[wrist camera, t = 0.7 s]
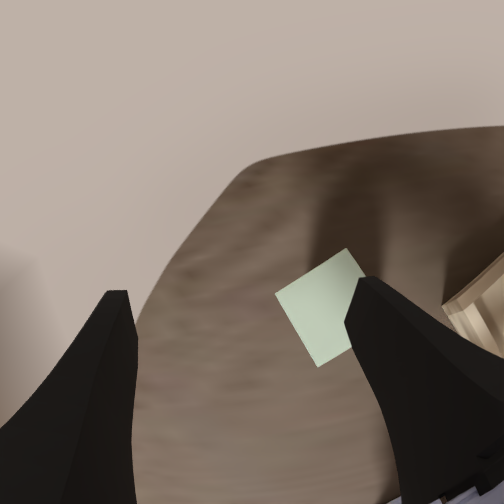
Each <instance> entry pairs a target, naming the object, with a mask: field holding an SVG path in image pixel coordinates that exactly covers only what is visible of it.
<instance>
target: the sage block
mask: <svg viewBox="0 0 504 504" xmlns="http://www.w3.org/2000/svg"><path fill="white" fill-rule="evenodd" d="M359 277H366V276H365V275H364V273H363V272H362V270H361V269H360V267H359V266H358V264H357V263H356V261H355V260H354V258H353V257H352V255H351V254H350V252H349V251H348V250H347V248H345V249H344V250H342V251H341V252H339V253H338V254H336V255H335V256H333V257H332V258H330V259H328V260H327V261H325V262H324V263H322V264H321V265H319V266H318V267H316V268H315V269H313V270H311V271H310V272H308V273H307V274H305V275H304V276H302V277H301V278H299V279H297V280H296V281H294V282H293V283H291V284H289V285H288V286H286V287H285V288H283V289H282V290H280V291H278V292H277V293H275V295H276V297H277V299H278V300H279V302H280V304H281V305H282V307H283V309H284V311H285V312H286V314H287V316H288V317H289V319H290V321H291V323H292V324H293V326H294V328H295V329H296V331H297V333H298V335H299V336H300V338H301V340H302V341H303V343H304V345H305V346H306V348H307V350H308V352H309V353H310V355H311V357H312V358H313V360H314V362H315V364H316V365H317V367H319V366H321V365H323V364H324V363H326V362H328V361H329V360H331V359H333V358H334V357H336V356H338V355H339V354H341V353H342V352H344V351H346V350H347V349H349V348H350V347H352V346H351V343H350V340H349V338H348V334H347V331H346V328H345V325H344V320H345V317H346V314H347V311H348V309H349V306H350V303H351V300H352V297H353V294H354V291H355V288H356V285H357V282H358V279H359Z"/></svg>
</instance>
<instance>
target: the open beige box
mask: <svg viewBox="0 0 504 504" xmlns="http://www.w3.org/2000/svg"><path fill="white" fill-rule="evenodd" d="M442 308H443V309H444V311H445V313H446V314H447V316H448V318H449V319H450V321H451V323H452V324H453V326H454V328H455V329H456V331H457V333H458V334H459V335H460V336H462V337H463V338H465V339H467V340H469V341H470V342H472V343H474V344H475V345H477V346H479V347H481V348H483V349H485V350H487V351H489V352H491V353H493V354H495V355H497V356H499V357H501V358H504V252H503V253H502V254H501V255H500V256H499V257H498V258H496V259H495V260H494V261H493V262H492V263H491V264H490V265H489V266H488V267H487V268H486V269H485V270H484V271H482V272H481V273H480V274H479V275H478V276H477V277H476V278H475V279H473V280H472V281H471V282H470V283H469V284H468V285H467V286H465V287H464V288H463V289H462V290H461V291H460V292H458V293H457V294H456V295H455V296H454V297H452V298H451V299H450V300H449V301H447V302H446V303H445V304H444V305H442Z"/></svg>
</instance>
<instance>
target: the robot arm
mask: <svg viewBox="0 0 504 504" xmlns="http://www.w3.org/2000/svg"><path fill="white" fill-rule="evenodd" d="M344 325H345V328H346V331H347V334H348V338H349V340H350V343H351V346H352V349H353V351H354V353H355V355H356V357H357V359H358V361H359V363H360V365H361V367H362V369H363V371H364V374H365V376H366V378H367V380H368V382H369V384H370V386H371V388H372V390H373V392H374V394H375V396H376V398H377V401H378V403H379V405H380V408H381V410H382V413H383V416H384V420H385V423H386V426H387V429H388V432H389V436H390V440H391V443H392V447H393V451H394V456H395V460H396V465H397V471H398V476H399V484H400V492H401V496H400V497H398V498H396V499H394V500H392V501H390V502H388V503H386V504H442V502H441V500H440V498H441V497H443V496H445V497H446V499H447V501H448V502H447V503H445V504H504V358H501V357H499V356H497V355H495V354H493V353H491V352H489V351H487V350H485V349H483V348H481V347H479V346H477V345H475V344H474V343H472V342H470V341H469V340H467V339H465V338H463V337H462V336H460V335H459V334H457V333H455V332H454V331H452V330H451V329H449V328H448V327H446V326H445V325H443V324H442V323H440V322H439V321H437V320H436V319H435V318H433V317H432V316H430V315H429V314H428V313H426V312H425V311H423V310H422V309H421V308H419V307H418V306H417V305H415V304H414V303H412V302H411V301H410V300H408V299H407V298H406V297H404V296H403V295H402V294H400V293H399V292H397V291H396V290H395V289H393V288H392V287H390V286H389V285H388V284H386V283H385V282H383V281H382V280H380V279H378V278H377V277H375V276H370V277H359V279H358V282H357V285H356V288H355V291H354V294H353V297H352V300H351V303H350V306H349V309H348V311H347V314H346V317H345V320H344ZM137 370H138V336H137V332H136V328H135V324H134V319H133V316H132V311H131V306H130V302H129V297H128V293H127V290H113V291H112V290H109V291H107V292H106V293H105V294H104V295H103V297H102V298H101V300H100V301H99V303H98V305H97V306H96V308H95V309H94V311H93V312H92V314H91V315H90V317H89V318H88V320H87V321H86V323H85V324H84V326H83V327H82V329H81V330H80V332H79V333H78V335H77V336H76V338H75V339H74V341H73V342H72V344H71V345H70V346H69V348H68V349H67V351H66V352H65V353H64V355H63V356H62V357H61V359H60V360H59V361H58V363H57V364H56V366H55V367H54V368H53V370H52V371H51V372H50V374H49V375H48V376H47V378H46V379H45V380H44V381H43V382H42V384H41V385H40V386H39V387H38V388H37V390H36V391H35V392H34V393H33V394H32V396H31V397H30V398H29V399H28V400H27V401H26V402H25V403H24V405H23V406H22V407H21V408H20V409H19V410H18V411H17V412H16V413H15V414H14V415H13V417H12V418H11V419H10V420H9V421H8V422H7V423H6V424H4V425H3V426H2V427H1V428H0V504H137V501H136V493H135V485H134V475H133V462H132V445H131V437H132V420H133V408H134V398H135V388H136V379H137Z"/></svg>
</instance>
